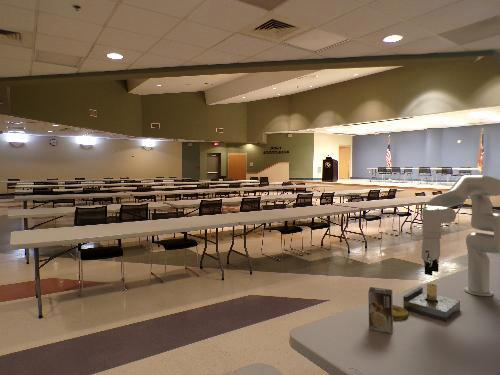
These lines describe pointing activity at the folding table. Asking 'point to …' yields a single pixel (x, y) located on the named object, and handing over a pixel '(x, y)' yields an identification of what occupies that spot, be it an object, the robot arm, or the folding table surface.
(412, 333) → the folding table surface
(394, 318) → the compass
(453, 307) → the jig
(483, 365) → the folding table surface
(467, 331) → the folding table surface
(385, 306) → the coffee box
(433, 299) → the brass cylinder
